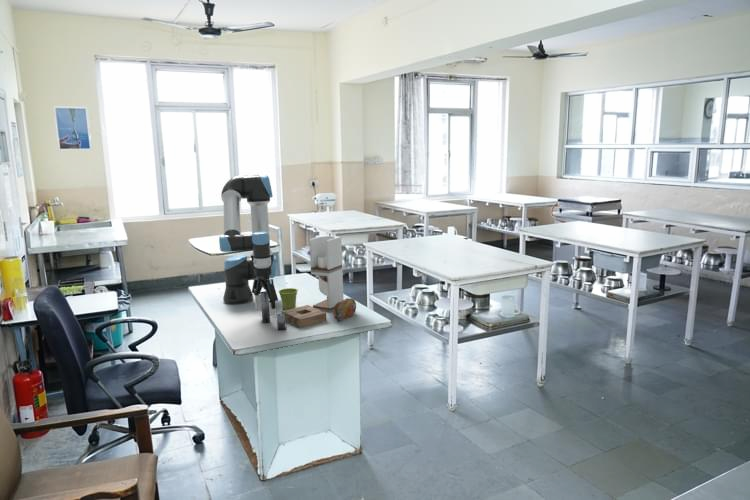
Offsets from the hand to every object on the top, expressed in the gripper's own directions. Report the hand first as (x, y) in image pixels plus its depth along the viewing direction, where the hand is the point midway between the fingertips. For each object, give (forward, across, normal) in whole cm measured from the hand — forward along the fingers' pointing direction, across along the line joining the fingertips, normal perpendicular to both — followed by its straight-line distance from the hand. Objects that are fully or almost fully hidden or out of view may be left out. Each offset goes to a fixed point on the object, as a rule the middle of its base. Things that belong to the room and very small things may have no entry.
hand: (265, 312), depth 241 cm
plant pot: (+5, -12, +19) cm, 23 cm away
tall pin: (+5, 0, 0) cm, 5 cm away
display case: (+5, +2, +33) cm, 33 cm away
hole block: (+5, +10, +14) cm, 18 cm away
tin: (+5, +20, +30) cm, 36 cm away
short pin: (+5, +14, 0) cm, 15 cm away
